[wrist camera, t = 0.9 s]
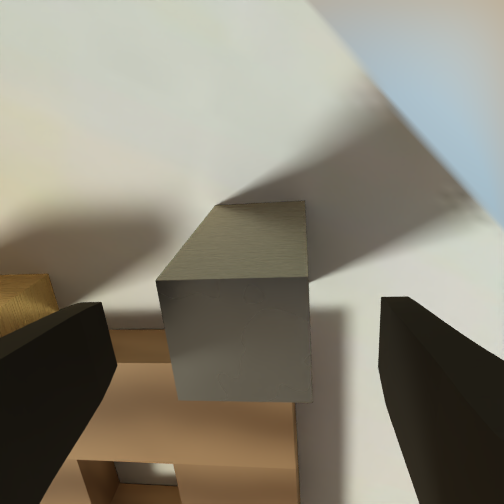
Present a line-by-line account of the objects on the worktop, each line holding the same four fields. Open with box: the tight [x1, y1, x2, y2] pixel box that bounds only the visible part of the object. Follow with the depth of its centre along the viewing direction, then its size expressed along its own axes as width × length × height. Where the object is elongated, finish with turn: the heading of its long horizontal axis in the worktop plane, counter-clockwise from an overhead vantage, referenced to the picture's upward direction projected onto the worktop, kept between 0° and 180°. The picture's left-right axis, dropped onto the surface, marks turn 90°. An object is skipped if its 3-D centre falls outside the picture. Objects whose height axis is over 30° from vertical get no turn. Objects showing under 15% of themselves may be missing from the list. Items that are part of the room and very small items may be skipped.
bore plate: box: [40, 329, 300, 504], centre depth 20 cm, size 16×16×2 cm
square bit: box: [156, 201, 313, 403], centre depth 13 cm, size 4×4×7 cm
